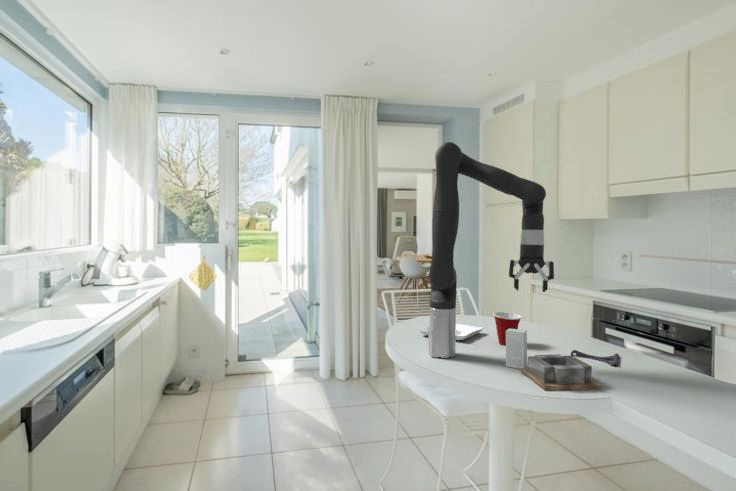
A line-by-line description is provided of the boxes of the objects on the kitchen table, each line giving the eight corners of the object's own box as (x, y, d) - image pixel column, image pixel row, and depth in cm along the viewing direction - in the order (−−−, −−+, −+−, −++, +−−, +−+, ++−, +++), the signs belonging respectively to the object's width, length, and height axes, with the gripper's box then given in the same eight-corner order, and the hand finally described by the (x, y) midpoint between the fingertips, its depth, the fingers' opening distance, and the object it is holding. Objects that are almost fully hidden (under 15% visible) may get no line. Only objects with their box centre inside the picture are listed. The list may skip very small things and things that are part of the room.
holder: (544, 390, 121) (545, 370, 121) (520, 372, 137) (521, 354, 137) (600, 389, 122) (600, 368, 122) (569, 371, 138) (570, 353, 138)
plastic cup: (512, 349, 164) (512, 317, 164) (487, 344, 172) (487, 313, 172) (526, 344, 171) (527, 314, 171) (502, 339, 179) (502, 310, 179)
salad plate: (439, 328, 202) (439, 321, 202) (484, 334, 190) (484, 326, 190) (417, 337, 185) (417, 329, 185) (464, 344, 173) (464, 336, 172)
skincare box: (527, 366, 143) (527, 330, 143) (524, 369, 140) (524, 332, 139) (508, 363, 147) (508, 328, 146) (505, 366, 143) (505, 330, 143)
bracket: (573, 352, 162) (573, 345, 162) (619, 358, 154) (619, 350, 154) (568, 362, 150) (568, 354, 150) (618, 369, 142) (618, 361, 142)
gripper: (510, 243, 146) (508, 291, 146) (556, 244, 142) (554, 293, 142) (509, 242, 153) (508, 288, 154) (553, 243, 149) (551, 290, 150)
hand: (530, 290), depth 148 cm, fingers open, 8 cm apart
